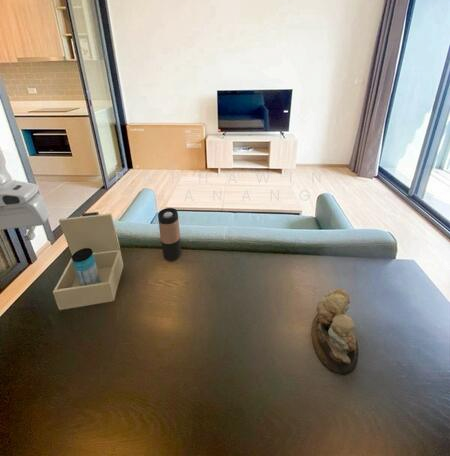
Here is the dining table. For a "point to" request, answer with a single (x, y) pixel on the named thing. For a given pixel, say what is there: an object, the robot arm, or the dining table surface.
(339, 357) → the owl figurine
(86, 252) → the supplement bottle
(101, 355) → the dining table surface
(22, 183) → the robot arm
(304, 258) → the dining table surface
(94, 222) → the bin lid
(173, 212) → the travel mug
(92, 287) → the bin
